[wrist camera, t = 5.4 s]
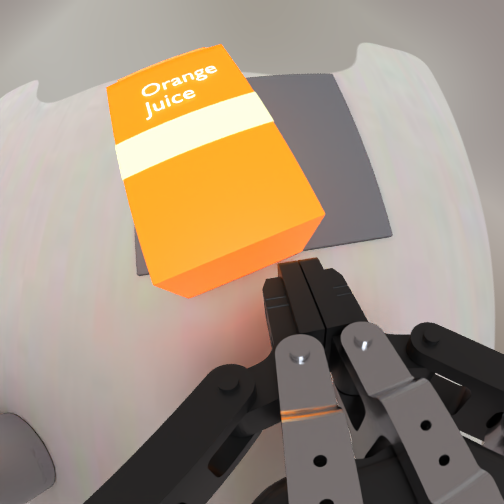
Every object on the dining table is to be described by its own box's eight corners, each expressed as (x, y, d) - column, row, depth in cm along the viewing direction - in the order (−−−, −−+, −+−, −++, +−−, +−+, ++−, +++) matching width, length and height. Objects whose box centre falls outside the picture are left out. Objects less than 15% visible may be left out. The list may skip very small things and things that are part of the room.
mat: (139, 275, 21) (136, 274, 21) (141, 101, 25) (139, 98, 25) (390, 237, 22) (392, 235, 21) (331, 76, 26) (332, 73, 25)
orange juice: (327, 212, 13) (200, 14, 18) (150, 285, 13) (101, 52, 17) (302, 251, 21) (210, 75, 25) (188, 299, 20) (129, 106, 25)
